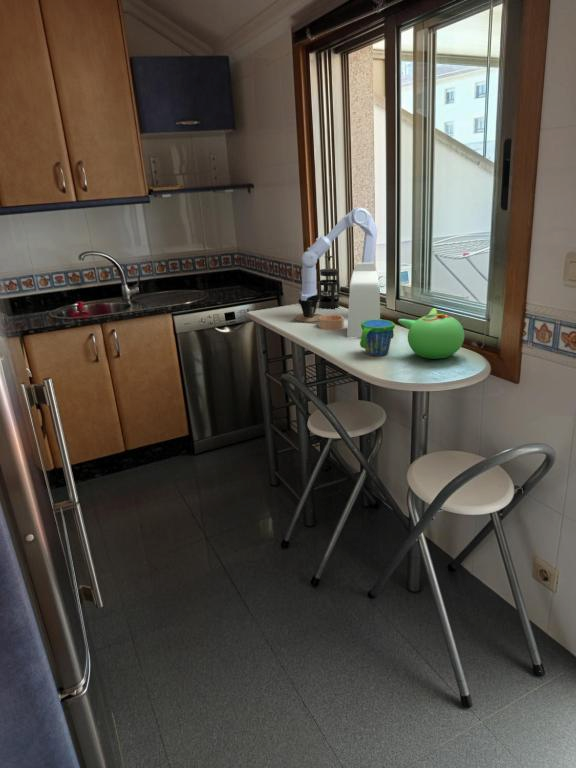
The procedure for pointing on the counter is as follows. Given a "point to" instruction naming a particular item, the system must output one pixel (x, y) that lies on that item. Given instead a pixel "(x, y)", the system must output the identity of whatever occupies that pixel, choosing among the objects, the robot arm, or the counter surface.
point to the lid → (310, 319)
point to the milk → (363, 298)
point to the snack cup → (377, 336)
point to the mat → (302, 322)
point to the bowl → (331, 322)
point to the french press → (326, 302)
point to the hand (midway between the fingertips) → (309, 314)
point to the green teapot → (434, 335)
